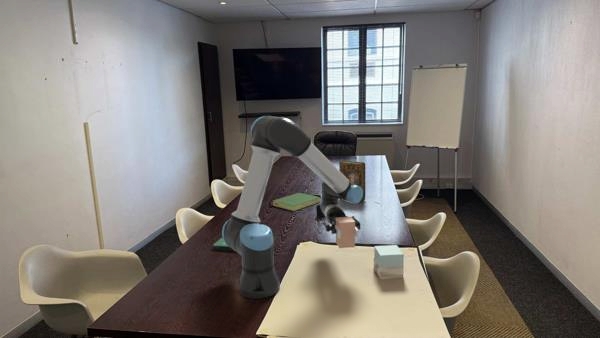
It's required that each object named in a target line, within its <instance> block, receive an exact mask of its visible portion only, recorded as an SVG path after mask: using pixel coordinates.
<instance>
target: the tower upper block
mask: <svg viewBox="0 0 600 338" xmlns="http://www.w3.org/2000/svg"><path fill="white" fill-rule="evenodd" d="M373 252H374V256H373V259H374V258H375V260H376V262H377V263H378V265H379V267H380V268H386V267H403V266H404V259H405V258H404V256H405V255H404V254H405V253H403V251H402V249H400V248H399V246H398V245H397V244H391V245H374V251H373Z"/></svg>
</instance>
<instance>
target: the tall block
mask: <svg viewBox="0 0 600 338" xmlns="http://www.w3.org/2000/svg"><path fill="white" fill-rule="evenodd" d="M336 226H337V227H338V228H339V230H340V231H341V238H340V239H339V238H338V237H337V235H336V234H335V244H336V245H337V246H338V248H339V249H348V248H356V236H355V221H354V220H353V219H352V216H348V217H339V218H336Z"/></svg>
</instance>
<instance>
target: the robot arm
mask: <svg viewBox="0 0 600 338" xmlns="http://www.w3.org/2000/svg"><path fill="white" fill-rule="evenodd" d="M250 136H251V139H252V141H251V144H250V147H251V149H252V155H251V158H250V162H249V166H248V169H247V173H246V177H245V179H244V183H243V186H242V187H243V188H242V190H241V195H240V198H239V201H238V205H237V208H236V210H235V211H233V212H232V213H231V215H230V217H229V219H228V220H226V221H225V223H224V224H223V226H222V230H221V235H222V238H223V239H224V241H225V243H226V244H227V245H228V246H229V247H230V248H232V249H233V250H235V251H234V252H236V253H238V254H239V255H240V256H241V266H242V267H241V270H242V271H241V273H240V274H241V275H240V280H239V281H238V291H239V294H240V295H241V296H243V297H245V298H247V299H248V298H249V299H252V300H253V299H266V298H269V297H271V296H274V295H275V294H277V293H278V292H279V291H280V288H281V287H280V286H281V284H280V278H279V277H278V273H277V271H276V268H275V257H274V256H275V255H274V251H275V250H274V236H273V235H274V234H273V231H272V228H270V227H269V226H267V225H266V224H262V223H261V218H260V217H259V213H260V210H261V207H262V203H263V200H264V196H265V193H266V189H267V186H268V181H269V178H270V175H271V171H272V168H273V166H274V165H273V164H274V161H275V158H276V157H277V156H279V155H280V153H281V150H283V151H285V152H287V153H289V154H290V156H292V157H293V158H298V159H299V160H300V161H301V162H302V163H303V164H305V165H306V166H307V168H308V169H310V170H311V171H312V172H313V173H314V174H315V175H316V176H317V177H318V178H319V179H320V180H321V202H320V207H321V210H322V212H323V214H324V215H325V216H326V217H324V218H321V222H322V223H321V224H322V225H323V226H324V228H325V231H326V232H327V233H328V232H330V231H331V234H332V235H335V236H336V235H337V237H338V238H339V239H340V238H341V231H340V230H339V228H338V227H337V226H336V218H339V217H349V216H347V215H346V214H345V212H344V211H343V209H342V208H341V206H340V203H339V202H340V201H344V202H347V203H349V204H359V202H360V200H361V199H362V197H363V190H362V188H361V187H359V186H357V185H354V184H352V183H351V182H350V181H349V180H348V179H347V178H346V177H345V176H344V175H343V174H342V173H341V172H340V171H339V169H338V168H337V167H336V165H334V163H333V162H331V161H330V160H329V159H328V158H327V157H326V155H324V154H323V152H321V151H320V150H319V148H317V146H315V145H314V144H313V142H312V141H313V140H312V138H311V137H310V136H309V135H308V133H306V132H305V131H304V130H303V129H302V127H300V126H299V125H298V124H297V123H295V122H294V121H293V120H292V119H289V118H287V117H284V116H272V115H263V116H260V117H258V118H257V119H255V120H254V121H253V123H251V128H250ZM340 199H341V200H340ZM339 200H340V201H339ZM351 217H352V219H353V220H354V221H355V238H359V232H360V231H359V230H361V222H360V220H359V221H358V220H357V218H356V217H355V215H351Z"/></svg>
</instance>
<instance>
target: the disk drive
mask: <svg viewBox="0 0 600 338" xmlns="http://www.w3.org/2000/svg"><path fill="white" fill-rule="evenodd" d="M212 250H213V251H227V252H236V251H235V250H233V249H232V248H230V247H229V246H228V245H227V244H226V243H225V241H224V239H223V237H219V238H218V240H216V242H215V243H214V244H212Z"/></svg>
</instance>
